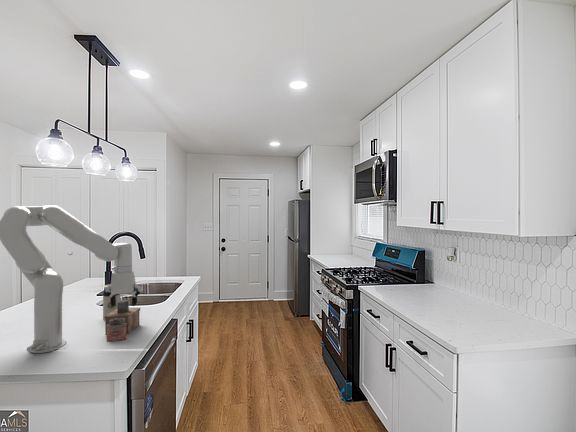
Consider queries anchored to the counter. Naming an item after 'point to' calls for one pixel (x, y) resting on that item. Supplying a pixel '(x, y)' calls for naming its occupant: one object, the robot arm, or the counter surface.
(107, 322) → the box
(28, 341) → the counter surface
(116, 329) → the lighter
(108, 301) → the travel mug
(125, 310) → the lid
